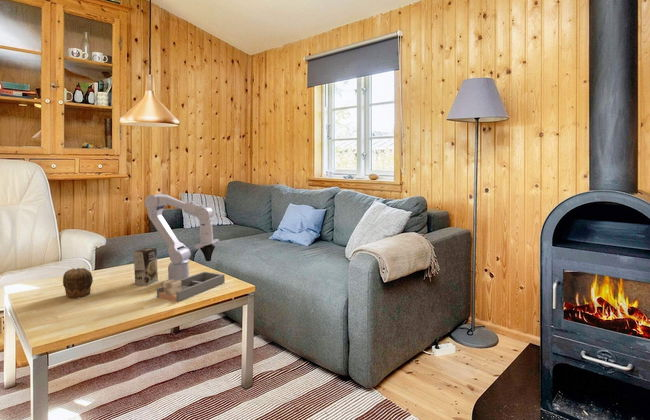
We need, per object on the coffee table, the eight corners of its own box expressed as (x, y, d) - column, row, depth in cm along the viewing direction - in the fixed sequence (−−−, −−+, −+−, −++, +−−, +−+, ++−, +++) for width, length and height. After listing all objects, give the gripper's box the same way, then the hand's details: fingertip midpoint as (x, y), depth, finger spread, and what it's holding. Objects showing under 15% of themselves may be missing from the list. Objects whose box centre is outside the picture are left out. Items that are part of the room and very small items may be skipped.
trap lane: (157, 297, 173) (156, 288, 173) (204, 279, 199) (204, 271, 199) (178, 301, 168) (178, 292, 167) (224, 282, 194) (224, 274, 194)
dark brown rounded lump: (62, 301, 167) (60, 273, 166) (65, 293, 177) (63, 266, 176) (93, 297, 172) (91, 270, 171) (94, 290, 182) (92, 264, 181)
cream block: (163, 293, 172) (163, 282, 171) (172, 290, 176) (172, 279, 175) (172, 295, 169) (172, 284, 169) (181, 292, 174) (181, 280, 173)
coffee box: (146, 286, 188) (145, 252, 186) (134, 285, 190) (132, 251, 188) (158, 280, 197) (157, 247, 195) (146, 279, 199) (145, 247, 197)
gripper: (201, 235, 184) (203, 265, 186) (223, 230, 197) (225, 258, 198) (190, 235, 187) (192, 263, 189) (212, 230, 200) (213, 257, 202)
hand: (208, 260), depth 194 cm, fingers closed
